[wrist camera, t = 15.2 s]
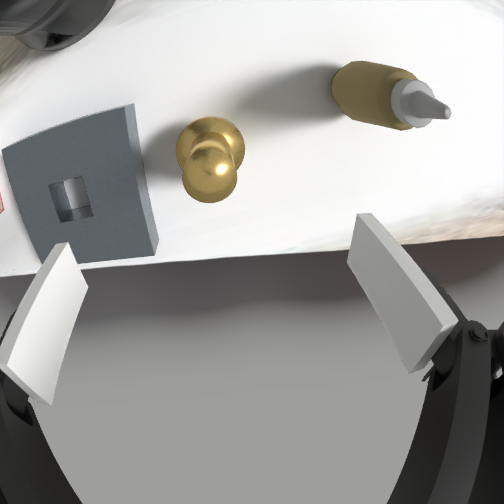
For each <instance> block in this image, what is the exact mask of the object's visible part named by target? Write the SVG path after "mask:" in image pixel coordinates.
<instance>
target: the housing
mask: <svg viewBox="0 0 504 504" xmlns="http://www.w3.org/2000/svg"><path fill="white" fill-rule="evenodd" d="M2 154H3V158H4V162H5V166H6V170H7V174H8V177H9V181H10V184H11V187H12V190H13V193H14V197H15V200H16V202H17V205H18V208H19V211H20V214H21V216H22V219H23V222H24V224H25V227H26V229H27V232H28V234H29V236H30V239H31V241H32V243H33V246H34V248H35V250H36V252H37V254H38V257H39V259H40V261H41V263H42V265H43V263H44V261H45V260H46V258H47V257H48V255H49V254H50V252H51V251H52V249H53V248H54V246H55V245H56V244H58V243H65V242H68V243H69V245H70V248H71V250H72V253H73V255H74V257H75V260H76V262H77V264H81V263H90V262H99V261H108V260H118V259H127V258H136V257H145V256H155V253H156V249H157V245H158V241H159V238H158V234H157V230H156V225H155V221H154V217H153V212H152V208H151V203H150V198H149V193H148V188H147V183H146V178H145V173H144V167H143V162H142V156H141V150H140V144H139V137H138V130H137V123H136V116H135V108H134V104H129V105H125V106H121V107H116V108H112V109H108V110H105V111H101V112H97V113H94V114H90V115H87V116H84V117H80V118H77V119H74V120H71V121H68V122H65V123H62V124H59V125H56V126H54V127H51V128H48V129H46V130H43V131H41V132H38V133H36V134H33V135H31V136H28V137H26V138H24V139H21V140H19V141H17V142H15V143H13V144H11V145H9V146H8V147H6V148H4V149H2ZM80 176H83V180H84V184H85V188H86V191H87V195H88V199H89V202H90V205H91V206H87V207H81V208H76V209H71V207H70V204H69V201H68V197H67V194H66V191H65V187H64V184H63V181H64V180H68V179H72V178H76V177H80Z"/></svg>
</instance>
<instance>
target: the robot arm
mask: <svg viewBox="0 0 504 504" xmlns="http://www.w3.org/2000/svg"><path fill="white" fill-rule="evenodd" d="M114 2H115V0H0V36H6V35H11V36H14V37H16V38H17V39H18V40H20V41H21V42H22V43H24V44H25V45H26V46H28V47H30V48H32V49H36V50H57V49H61V48H64V47H67V46H69V45H71V44H73V43H75V42H77V41H79V40H80V39H82V38H83V37H85V36H86V35H87V34H88V33H90V32H91V31H92V30H93V29H94V28H95V27H96V26H97V25H98V24H99V23H100V22H101V21H102V20H103V19H104V17H105V16H106V15H107V13H108V12H109V10H110V9H111V7H112V6H113V4H114ZM347 263H348V265H349V267H350V268H351V270H352V271H353V273H354V274H355V276H356V278H357V280H358V281H359V283H360V285H361V286H362V288H363V290H364V291H365V293H366V295H367V297H368V298H369V300H370V302H371V304H372V305H373V307H374V309H375V311H376V313H377V314H378V316H379V318H380V319H381V322H382V323H383V325H384V327H385V329H386V331H387V333H388V334H389V336H390V338H391V340H392V342H393V344H394V346H395V348H396V350H397V352H398V354H399V356H400V358H401V360H402V362H403V364H404V366H405V368H406V370H407V372H408V374H410V373H413V372H415V371H418V370H420V369H423V368H424V367H425V366H426V365H427V364H428V362H429V361H430V360H432V362H433V363H434V365H433V367H432V368H431V369H430V370H429V371H428V373H427V374H426V375H425V376H424V378H423V380H422V381H425V380H426V379H427V378H428V377H429V376H430V377H429V381H428V387H427V391H426V395H425V400H424V404H423V408H422V412H421V415H420V419H419V422H418V426H417V429H416V432H415V435H414V438H413V441H412V444H411V447H410V450H409V453H408V456H407V458H406V461H405V464H404V467H403V469H402V471H401V474H400V476H399V478H398V481H397V483H396V485H395V487H394V490H393V492H392V494H391V496H390V499H389V500H388V502H387V504H504V322H503V323H502V324H501V326H500V327H499V329H498V330H487V329H486V328H485V327H484V326H483V325H482V324H481V323H479V322H477V321H473V320H471V321H468V320H467V319H466V318H465V317H464V315H463V313H462V312H461V311H460V309H459V308H458V306H457V305H456V304H455V302H454V301H453V300H452V299H451V297H450V296H449V294H447V292H446V290H445V289H444V288H443V287H441V284H440V283H439V281H438V280H437V279H436V278H435V276H434V275H432V274H431V273H430V272H428V271H427V270H426V269H420V268H419V267H418V266H417V264H416V263H415V262H414V261H413V259H412V258H411V257H410V256H409V255H408V254H407V252H406V251H405V250H404V249H403V248H402V247H401V245H400V244H399V243H398V242H397V241H396V240H395V239H394V237H393V236H392V235H391V234H390V233H389V232H388V231H387V230H386V229H385V227H384V226H383V225H382V224H381V223H380V222H379V221H378V220H377V219H376V218H375V217H374V216H373V215H372V214H371V213H364V214H357V216H356V222H355V227H354V232H353V237H352V242H351V246H350V251H349V255H348V260H347ZM87 289H88V286H87V284H86V282H85V280H84V277H83V275H82V273H81V271H80V269H79V266H78V264H77V262H76V260H75V257H74V255H73V253H72V250H71V248H70V245H69V243H68V242H65V243H58V244H56V245H55V246H54V248H53V249H52V251H51V252H50V254H49V255H48V257H47V258H46V260H45V261H44V263H43V265H42V266H41V268H40V269H39V271H38V273H37V274H36V276H35V278H34V280H33V282H32V283H31V285H30V287H29V288H28V290H27V292H26V294H25V296H24V297H23V300H22V301H21V303H20V305H19V307H18V308H17V310H16V311H15V312H14V313H13V314H12V316H11V317H10V319H9V321H8V323H7V325H6V329H5V330H4V332H3V336H2V337H1V339H0V504H82V502H81V501H80V499H79V498H78V496H77V495H76V493H75V492H74V490H73V489H72V487H71V485H70V484H69V482H68V481H67V479H66V477H65V475H64V474H63V472H62V470H61V468H60V466H59V465H58V463H57V461H56V459H55V457H54V455H53V453H52V451H51V449H50V447H49V445H48V443H47V441H46V439H45V436H44V434H43V432H42V430H41V427H40V425H39V423H38V420H37V418H36V415H35V413H34V410H33V407H32V405H31V404H30V403H29V402H28V397H29V396H30V397H31V398H33V399H34V400H35V401H36V402H37V403H41V404H45V405H50V406H51V405H52V400H53V396H54V391H55V387H56V383H57V379H58V375H59V371H60V367H61V364H62V361H63V357H64V354H65V351H66V347H67V344H68V341H69V338H70V335H71V332H72V329H73V326H74V323H75V320H76V318H77V314H78V312H79V309H80V307H81V304H82V301H83V299H84V296H85V294H86V291H87ZM501 367H502V372H503V374H502V375H501V376H500V377H499V378H497V376H496V372H497V371H498V370H499V369H500V368H501Z"/></svg>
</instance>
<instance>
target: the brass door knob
mask: <svg viewBox="0 0 504 504" xmlns="http://www.w3.org/2000/svg"><path fill="white" fill-rule="evenodd" d="M244 154H245V144H244V140H243V137H242V135H241V133H240V132H239V130H238V129H237V127H236V126H235V125H234V124H232V123H231V122H229V121H228V120H226V119H223V118H220V117H214V116H208V117H203V118H199V119H197V120H195V121H193V122H191V123H190V124H189V125H188V126H187V127H186V128H185V129H184V130H183V131H182V133H181V135H180V137H179V139H178V141H177V145H176V156H177V160H178V163H179V165H180V167H181V168H182V170H183V175H182V181H183V185H184V188H185V190H186V192H187V193H188V194H189V195H190V196H191V197H192V198H194V199H195V200H197V201H200V202H203V203H215V202H219V201H221V200H223V199H225V198H226V197H228V196H229V195H230V194H231V193H232V191H233V190H234V188H235V186H236V183H237V172H236V171H237V169H238V168H239V167H240V165H241V163H242V161H243V158H244Z"/></svg>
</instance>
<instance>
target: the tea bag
mask: <svg viewBox="0 0 504 504" xmlns="http://www.w3.org/2000/svg"><path fill="white" fill-rule="evenodd" d="M3 211H4V206H3V202H2V198H1V194H0V213H1V212H3Z"/></svg>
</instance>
